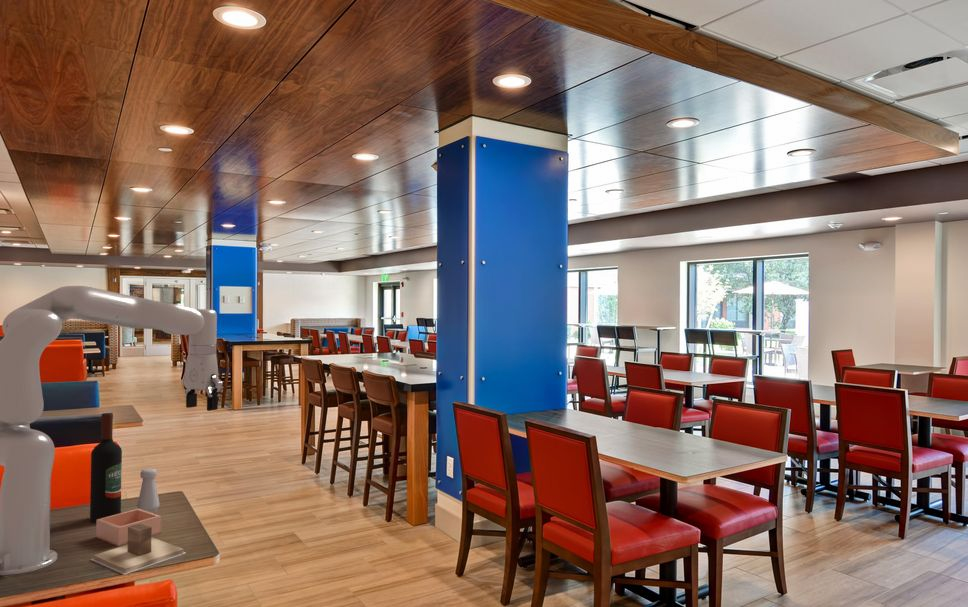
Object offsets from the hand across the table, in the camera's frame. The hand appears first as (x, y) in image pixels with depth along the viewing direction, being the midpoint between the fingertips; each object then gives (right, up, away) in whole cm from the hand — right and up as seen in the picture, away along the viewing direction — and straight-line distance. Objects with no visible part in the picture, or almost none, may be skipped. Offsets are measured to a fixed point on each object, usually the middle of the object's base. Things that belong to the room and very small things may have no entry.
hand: (201, 408), depth 183 cm
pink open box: (-10, -31, -19) cm, 38 cm away
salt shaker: (-15, -31, -1) cm, 35 cm away
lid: (0, -30, -33) cm, 45 cm away
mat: (0, -31, -33) cm, 45 cm away
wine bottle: (-25, -31, -5) cm, 40 cm away
